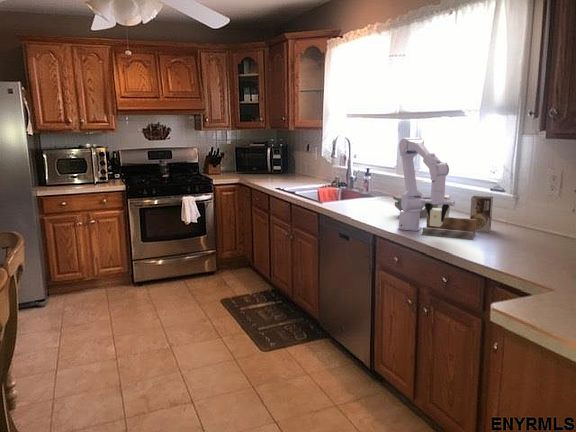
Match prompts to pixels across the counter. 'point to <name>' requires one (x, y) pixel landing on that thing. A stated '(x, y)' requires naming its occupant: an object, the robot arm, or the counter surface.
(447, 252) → the counter surface
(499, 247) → the counter surface
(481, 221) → the coffee box
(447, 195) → the syrup box
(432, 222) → the cream box
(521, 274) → the counter surface
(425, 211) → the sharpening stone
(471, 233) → the cleat board
